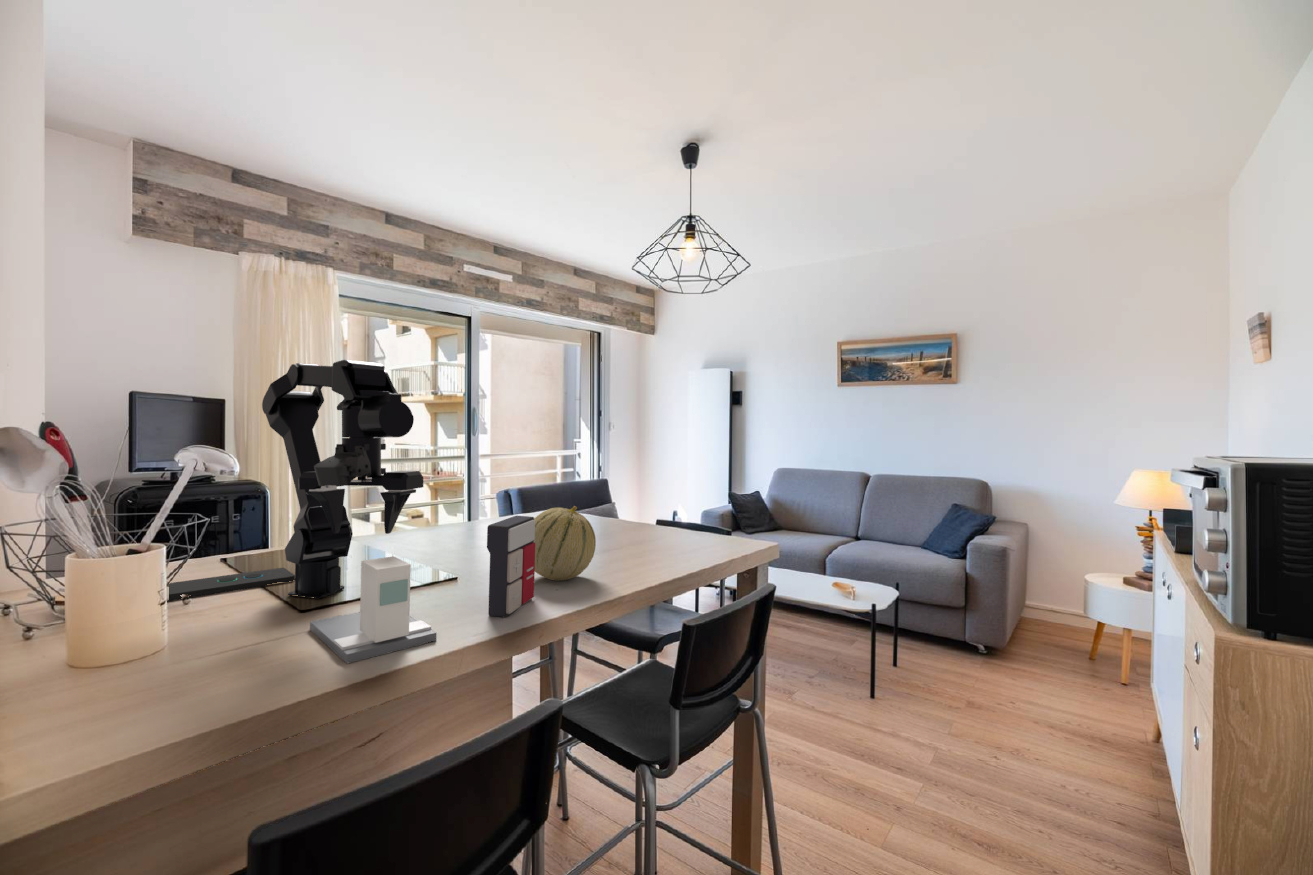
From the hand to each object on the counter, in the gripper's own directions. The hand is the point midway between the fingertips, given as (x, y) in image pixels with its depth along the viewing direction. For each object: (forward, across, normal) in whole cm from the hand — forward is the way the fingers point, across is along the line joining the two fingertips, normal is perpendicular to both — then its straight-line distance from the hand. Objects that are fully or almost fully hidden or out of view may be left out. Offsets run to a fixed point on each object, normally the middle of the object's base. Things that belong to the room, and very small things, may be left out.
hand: (362, 532), depth 95 cm
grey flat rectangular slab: (+13, +8, -9) cm, 18 cm away
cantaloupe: (+14, +25, +27) cm, 39 cm away
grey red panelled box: (+14, +22, +8) cm, 28 cm away
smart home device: (+12, -31, +7) cm, 34 cm away
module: (+12, +11, -12) cm, 20 cm away
